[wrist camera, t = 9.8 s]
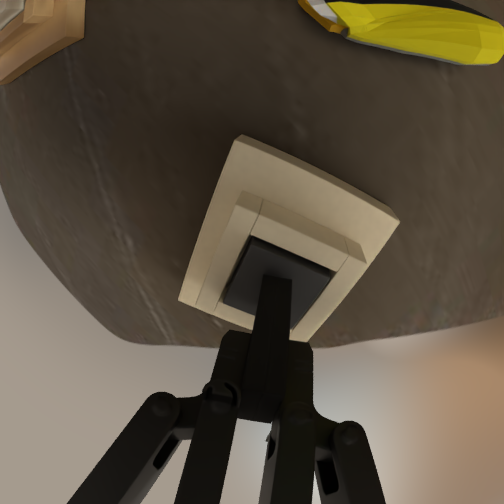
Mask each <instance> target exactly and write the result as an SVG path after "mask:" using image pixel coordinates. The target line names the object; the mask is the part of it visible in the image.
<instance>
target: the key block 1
mask: <svg viewBox="0 0 504 504" xmlns="http://www.w3.org/2000/svg"><path fill="white" fill-rule="evenodd" d="M84 19H85V0H26V2H25V9H24V11H23V12H21V13H20V14H19V15H18V16H17V17H16V18H14V19H13V20H12V21H11V22H10V23H9V24H8V25H7V26H6V27H4V28H3V29H2V30H1V31H0V85H3V84H8V83H11V82H12V81H13V80H15V79H16V78H17V77H19V76H20V75H22V74H23V73H24V72H26V71H27V70H29V69H30V68H32V67H33V66H35V65H36V64H38V63H40V62H41V61H43V60H44V59H46V58H48V57H49V56H51V55H53V54H54V53H56V52H58V51H60V50H61V49H63V48H65V47H67V46H69V45H71V44H73V43H75V42H77V41H79V40H81V39H83V38H84Z"/></svg>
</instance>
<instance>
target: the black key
mask: <svg viewBox="0 0 504 504" xmlns="http://www.w3.org/2000/svg"><path fill="white" fill-rule="evenodd" d="M263 274H264V275H270V276H275V277H281V278H286V279H292V300H291V320H290V329H292V328H293V327H294V326H295V324H296V323H297V322H298V320H299V319H300V318H301V317H302V315H303V314H304V313H305V311H306V310H307V309H308V308H309V306H310V305H311V304H312V302H313V301H314V300H315V298H316V297H317V296H318V294H319V293H320V292H321V290H322V289H323V288H324V286H325V285H326V284H327V282H328V281H329V279H330V272H329V268H326V267H324V266H322V265H320V264H317V263H315V262H313V261H311V260H308V259H306V258H304V257H301V256H299V255H297V254H295V253H292V252H290V251H288V250H285V249H283V248H281V247H279V246H276V245H274V244H272V243H269V242H267V241H265V240H262V239H260V238H258V237H255V236H253V235H252V236H251V238H250V240H249V242H248V244H247V246H246V248H245V250H244V252H243V255H242V257H241V259H240V261H239V263H238V265H237V267H236V269H235V271H234V274H233V276H232V278H231V280H230V282H229V285H228V288H227V291H226V294H225V297H224V301H223V304H225V305H228V306H230V307H233V308H235V309H238V310H241V311H243V312H246V313H248V314H251V315H253V316H255V314H256V309H257V304H258V298H259V293H260V288H261V283H262V277H263Z"/></svg>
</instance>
